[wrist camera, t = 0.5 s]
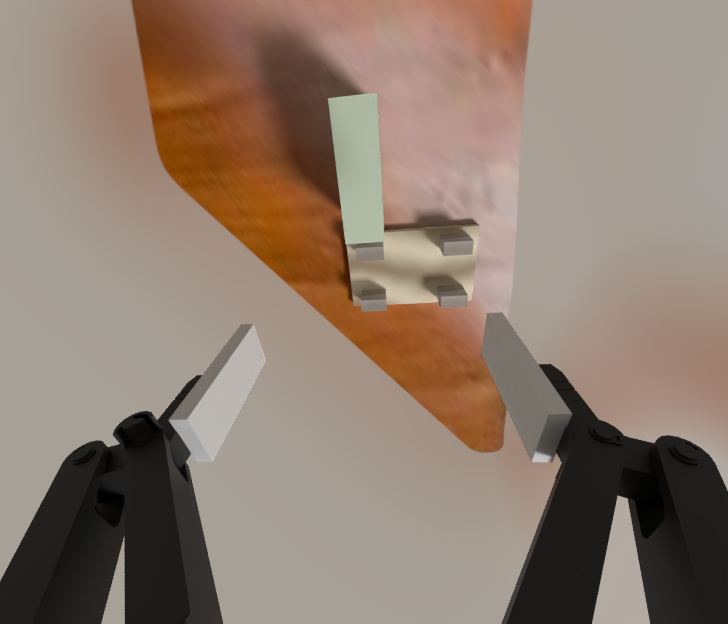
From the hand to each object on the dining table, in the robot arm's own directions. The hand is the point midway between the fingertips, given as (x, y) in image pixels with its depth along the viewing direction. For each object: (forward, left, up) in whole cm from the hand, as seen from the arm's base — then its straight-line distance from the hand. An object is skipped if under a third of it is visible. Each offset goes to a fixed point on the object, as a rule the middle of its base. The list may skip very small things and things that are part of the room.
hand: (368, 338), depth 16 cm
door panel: (-7, -1, -23) cm, 24 cm away
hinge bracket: (+5, +4, -23) cm, 23 cm away
